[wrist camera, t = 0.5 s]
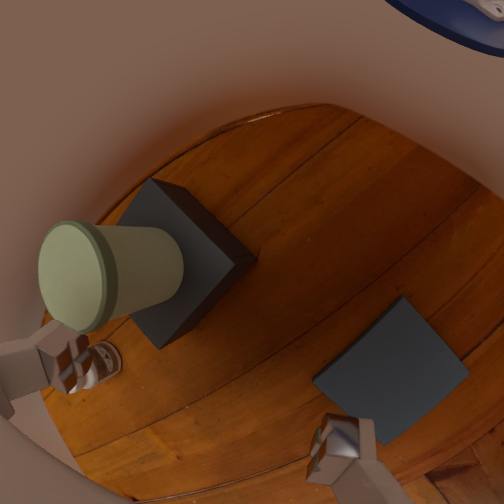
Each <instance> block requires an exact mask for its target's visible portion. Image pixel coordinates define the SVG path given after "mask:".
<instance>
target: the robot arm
mask: <svg viewBox="0 0 504 504" xmlns="http://www.w3.org/2000/svg"><path fill="white" fill-rule="evenodd" d="M463 1H465V2H467V3H469V4H471V5H473V6H474V7H476V8H477V9H478V10H479V11H481V12H482V13H483V14H485V15H486V16H487V17H489V18H490V19H492V20H494V21H496V22H501V21H504V0H463ZM88 345H89V340H88V336H86V335H84V334H83V333H81V332H79V331H77V330H75V329H73V328H71V327H69V326H68V325H66V324H64V323H62V322H60V321H58V320H51V321H50V322H49V323H47V324H46V325H45V326H43V327H42V328H41V329H39V330H38V331H37V332H36V333H34V334H33V335H32V336H30V337H29V338H28V339H26V340H25V339H18V340H13V341H8V342H2V343H0V504H137V503H135V502H133V501H130V500H128V499H126V498H124V497H122V496H120V495H118V494H116V493H114V492H112V491H110V490H108V489H107V488H105V487H103V486H101V485H99V484H97V483H96V482H94V481H92V480H90V479H89V478H87V477H85V476H84V475H82V474H80V473H78V472H77V471H75V470H73V469H72V468H71V467H69V466H68V465H66V464H64V463H63V462H61V461H60V460H58V459H57V458H55V457H54V456H53V455H51V454H50V453H48V452H47V451H45V450H44V449H43V448H41V447H40V446H39V445H38V444H36V443H35V442H33V441H32V440H31V439H29V438H28V437H27V436H26V435H25V434H23V433H22V432H21V431H20V430H19V429H17V428H16V427H15V426H14V425H12V424H11V423H10V422H9V421H8V420H9V419H10V418H11V417H12V416H13V415H14V413H15V410H14V409H13V406H12V405H11V403H10V401H12V400H14V399H17V398H20V397H22V396H25V395H28V394H30V393H33V392H36V391H38V390H41V389H44V388H46V387H49V386H50V385H51V386H52V387H54V388H56V389H57V390H59V391H61V392H62V393H64V394H66V395H67V394H68V393H69V392H70V391H71V390H72V389H73V388H74V387H75V386H76V385H77V378H81V377H84V376H85V375H86V374H87V373H88V372H89V369H90V367H91V365H92V356H91V353H90V351H89V350H88V348H87V347H88ZM309 455H310V456H311V458H312V459H311V461H310V462H309V464H308V466H307V474H306V482H309V483H315V484H321V485H328V486H331V488H332V490H333V492H334V494H335V496H336V498H337V500H338V502H339V504H415V503H414V501H413V500H412V499H411V498H410V496H409V495H408V494H407V493H406V491H405V490H404V489H403V488H402V486H401V485H400V484H399V483H398V481H397V480H396V479H395V478H394V476H393V475H392V474H391V473H390V471H389V470H388V469H387V467H386V466H385V465H384V464H383V462H382V461H377V451H376V438H375V427H374V421H373V419H366V418H359V417H352V416H345V415H339V414H332V413H326V414H325V415H324V416H323V418H322V422H321V426H320V427H318V428H317V429H316V431H315V433H314V435H313V438H312V441H311V445H310V451H309Z"/></svg>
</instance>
